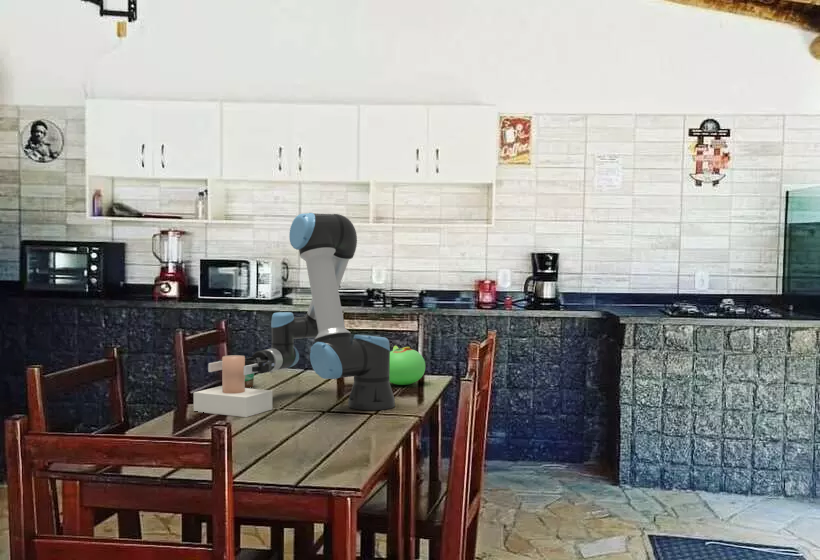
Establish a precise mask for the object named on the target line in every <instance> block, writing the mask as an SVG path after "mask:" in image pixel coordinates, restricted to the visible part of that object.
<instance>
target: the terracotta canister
mask: <svg viewBox="0 0 820 560" xmlns="http://www.w3.org/2000/svg"><path fill="white" fill-rule="evenodd" d="M245 358H246V356H245V355H239V354H234V355H223V356H222V358H221V360H222V371H221V372H222V373H221V375H222V376H221V377H222V381H221V382H222V385H221V386H222V392H223V393H242V392H245V375H244V366H245Z"/></svg>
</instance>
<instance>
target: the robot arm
mask: <svg viewBox="0 0 820 560" xmlns="http://www.w3.org/2000/svg"><path fill="white" fill-rule="evenodd" d="M288 237H289V242H290V245H291V247H292V248H293V249H294V250H297V251H298V252H299V257H300V259H303V260H304V261H305V264H306V269H307V275H308V281H309V286H310V288H309V289H310V292H311V301H310V304H309V307H308V310H307V313H306V315H305V316H298V317H297V316H294V313H293V312H290V311H284V312H283V311H279V312H273V314H272V316H271V322H270V323H271V324H270V326H271V348H268V349H262V350H258V351H255V352H254V353H253V354H252V356H248V357H245V366H244V375H248V374H253V373H254V374H266V373H269V374H272V373H273V372H275V371H279V370H282V369H283V370H284V369H289V368H292V367H294V366H295V365H296V364H298V362H299V360H300V353H299V350H298V348H297V347H296V346H294V343H295V342H294V340H297V339H310V338H314V343H313V344H312V345H311V347H310V352H309V361H310V364H311V367H312V369H313V371H314V373H315V374H316V375H318V377H320V378H321V379H324V380H329V379H330V380H337V379H342V378H348V377H349V378H350V377H351V378H352V377H353V384H352V387H351V391H350V394H349V397H348V402H347V403H348V404H347V405H348V407H349V408H351V409H354V410H360V411H362V410H363V411H380V410H381V411H382V410H389V409H393V408H394V407H395V406H396V405H395V404H396V400H395V399H396V398H395V396H394V395H395V394H394V393H393V392H394V391H393V389H392V386H391V382H390V352H391V347H390V341H389V339H388V338H387V337H384V336H376V335H366V334H354V335H353V338H352V332H351V331H349V330H348V329H347V328H346V325H345V320H344V315H343V310H342V303H341V299H340V298H341V297H340V294H339V288H340V286H341V282H342V279H343V277H344V275H345V272H346V269H347V266H348V264H349V262H350V261H349V260H351V259H354V256H355V253H356V249H357V246H358V244H357V243H358V236H357V230H356V228H355V226H354V224H353V223H352V221H351V220H350V219H349V218H347V217H346V216H344V215H342V214H338V213H332V214H331V213H313V212H309V213H303V212H302V213H300V214H298V215H296V216H295V218H294V219H293V221H292V222H291V226H290V229H289V236H288ZM207 368H208V370H207V371H208V373H213V372H218V371H219V372H222V359H216V360H215V361H213V362H209V363H208V364H207Z"/></svg>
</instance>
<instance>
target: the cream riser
mask: <svg viewBox="0 0 820 560" xmlns="http://www.w3.org/2000/svg"><path fill="white" fill-rule="evenodd" d="M270 410H271V411H272V410H273V390H270V389H259V388H245V392H242V393H223V392H222V385H219V386H215V387H211V388H207V389H202V390H199V391H194V392H193V412H194V411H198V412H197V413H203V412H204V414H214V415H223V416H232V417H240V418H247V417H251V416H255V415H258V414H261V413H264V412H268V411H270Z"/></svg>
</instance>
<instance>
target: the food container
mask: <svg viewBox="0 0 820 560" xmlns="http://www.w3.org/2000/svg"><path fill="white" fill-rule="evenodd" d="M254 380H255V373H253V374H248V375H245V388H250V387H253V388H254ZM250 389H251V388H250Z"/></svg>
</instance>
